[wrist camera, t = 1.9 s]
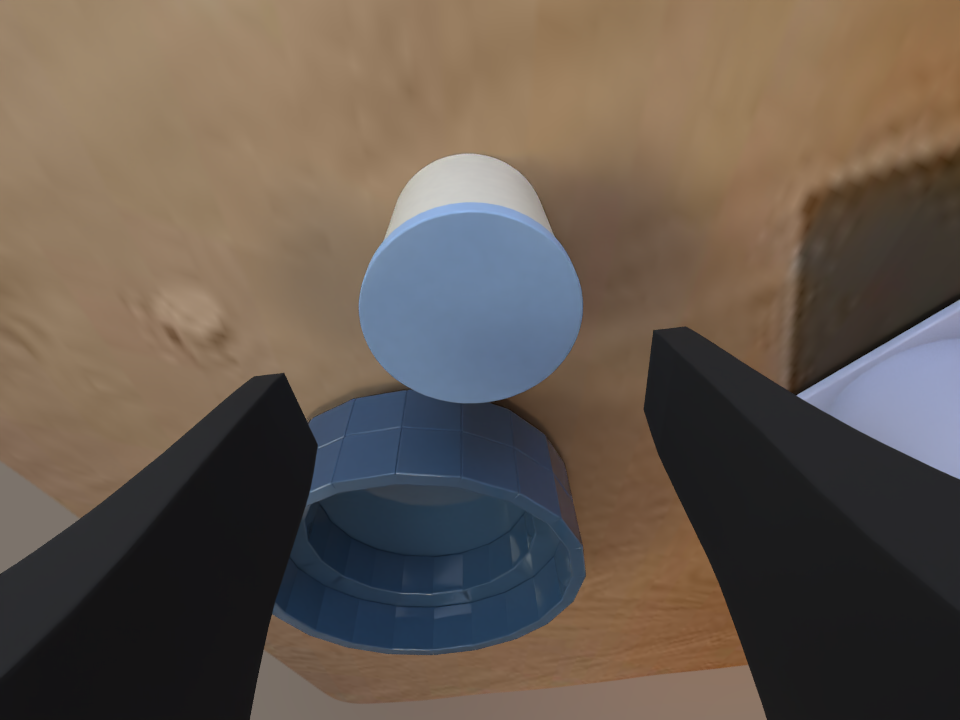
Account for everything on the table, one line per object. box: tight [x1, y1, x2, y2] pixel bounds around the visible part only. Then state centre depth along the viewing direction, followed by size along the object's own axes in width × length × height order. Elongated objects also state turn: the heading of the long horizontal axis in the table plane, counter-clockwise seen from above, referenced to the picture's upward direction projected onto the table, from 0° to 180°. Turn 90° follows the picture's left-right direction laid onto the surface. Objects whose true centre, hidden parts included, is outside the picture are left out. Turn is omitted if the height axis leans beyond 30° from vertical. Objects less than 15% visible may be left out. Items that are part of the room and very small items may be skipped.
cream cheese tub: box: [359, 154, 583, 403], centre depth 14 cm, size 6×6×6 cm
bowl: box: [272, 390, 586, 655], centre depth 22 cm, size 14×14×5 cm
